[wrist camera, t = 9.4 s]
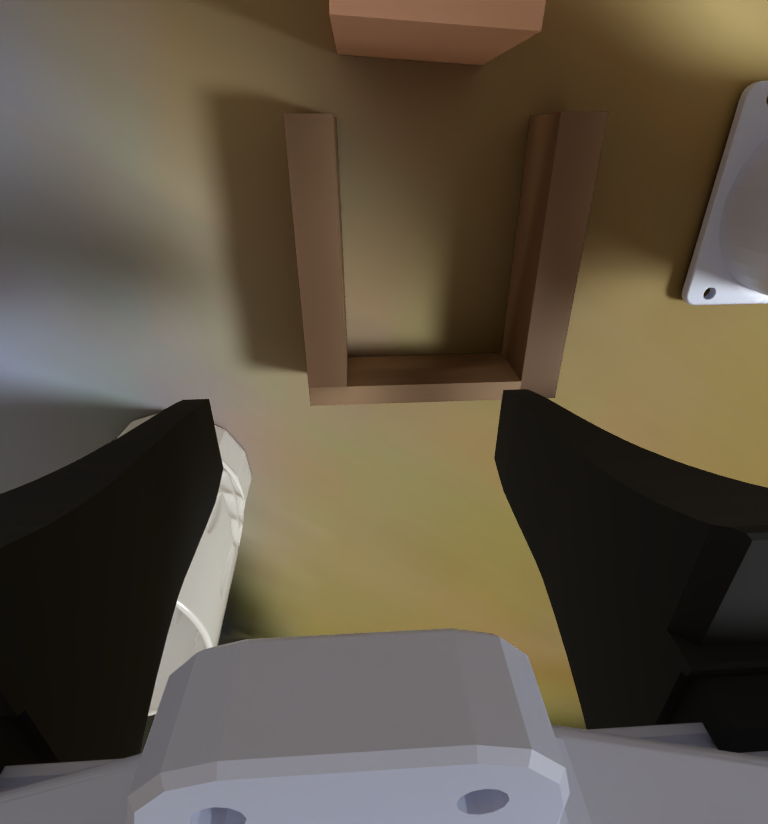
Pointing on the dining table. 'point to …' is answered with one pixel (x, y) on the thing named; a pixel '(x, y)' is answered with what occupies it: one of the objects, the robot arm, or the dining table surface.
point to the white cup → (206, 567)
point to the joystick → (434, 28)
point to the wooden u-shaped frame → (529, 284)
